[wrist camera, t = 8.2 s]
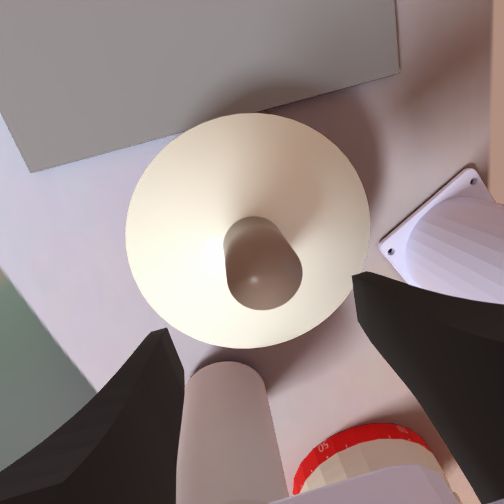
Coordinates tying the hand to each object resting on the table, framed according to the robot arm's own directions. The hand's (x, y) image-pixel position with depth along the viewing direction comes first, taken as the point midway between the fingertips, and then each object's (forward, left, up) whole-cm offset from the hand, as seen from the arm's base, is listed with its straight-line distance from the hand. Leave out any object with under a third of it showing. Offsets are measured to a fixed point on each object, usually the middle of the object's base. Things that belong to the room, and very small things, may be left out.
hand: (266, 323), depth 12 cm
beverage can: (-8, +10, -11) cm, 16 cm away
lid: (+1, -1, -7) cm, 7 cm away
